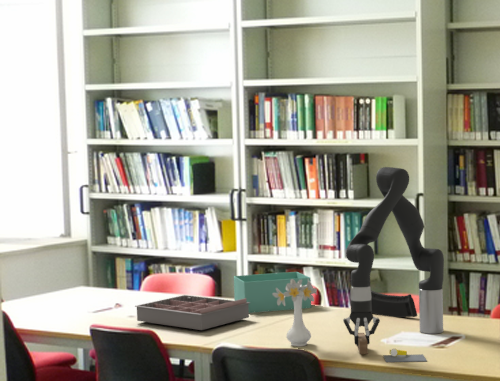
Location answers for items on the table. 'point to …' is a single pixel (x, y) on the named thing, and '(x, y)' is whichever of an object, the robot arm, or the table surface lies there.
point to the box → (267, 290)
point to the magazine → (393, 305)
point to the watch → (397, 352)
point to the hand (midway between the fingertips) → (362, 345)
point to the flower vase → (297, 310)
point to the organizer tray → (193, 312)
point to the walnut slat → (362, 344)
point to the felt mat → (405, 358)
